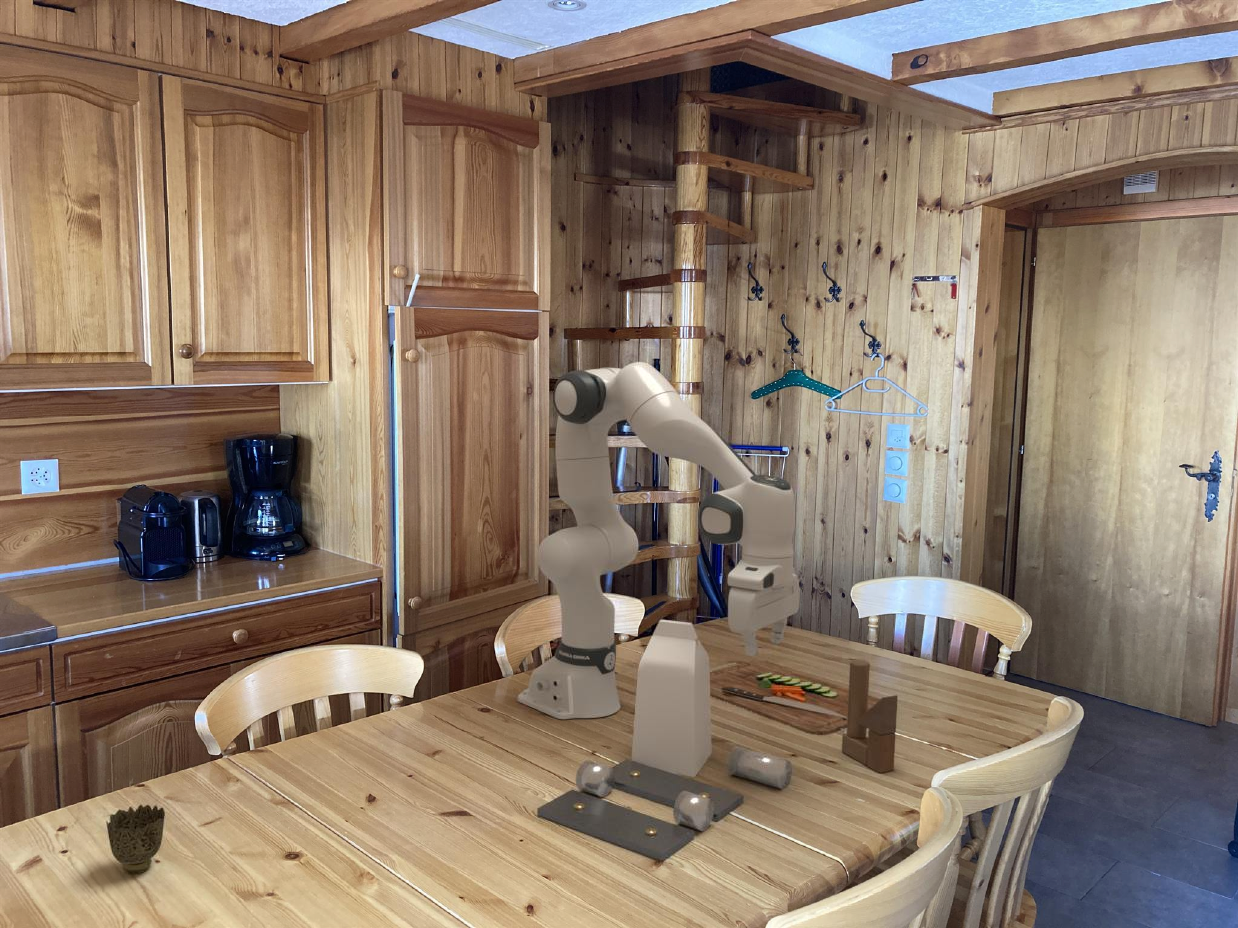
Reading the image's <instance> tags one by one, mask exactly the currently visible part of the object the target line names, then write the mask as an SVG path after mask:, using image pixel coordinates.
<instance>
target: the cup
mask: <svg viewBox="0 0 1238 928" xmlns="http://www.w3.org/2000/svg"><path fill="white" fill-rule="evenodd" d="M165 813H166V812H165V809H164V807H162V806H161V807H160V808H158V805H157V804H155V805H153V807H151V805H149V804H146V805H142V804H140V805H138V807H137V808H135V810H134V808H133V807H132V806H129V808H128V811H127V810H124V809H123V810H122V809H120V808H119V809H118V810H117V811H116V812H115V814H114V813H113V814H110V815H109V822H108V820H106V822H105V823H106V828H107V834H108V835H107V836H108V841H109V846H110V851H111V853H112V855H113V857H114V859H116V861H118V862H119V863H122V864H123V865H122V868H123V870H124V872H125V873H127V872H128V873H127V874H130V873H137V874H140V873H139V872H141V873H143V872H142V871H144V870H146V869H147V870H148V869H149V868H150V867H151V865H152V863H153V859H152V858H153V857H154V856H156V854H157V853H158V852H159V851H160V849H161V845H162V840H163V836H164V835H163V834H164V825H165V816H166V814H165ZM147 870H146V871H147ZM144 872H145V871H144Z"/></svg>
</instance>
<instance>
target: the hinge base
mask: <svg viewBox="0 0 1238 928" xmlns="http://www.w3.org/2000/svg"><path fill="white" fill-rule="evenodd" d="M631 760H632V759H624V760H623V761H620V762H619V763H617V764H615V765H614V766H612V767H611V766H608V765H606V764H601V763H599V762H594V761H592V760H588V759H587V760H584V761H583V762H582V763H581V764H580V765H579V767H578V769H577V772H576V775H575V785H576V787H577V789H578V790H580V791H578V790H575V789H571V790H568V791H566V792H565V793H562V794H561V795H559V796H558V797H556V798H554V799H552V800H551V801H549V802H547V803H545V804H543V805H541V806H539V807H537V808H536V809H537V812H536V814H537V817H540V818H543V819H545V820H549V821H551V822H553V823H554V822H555V823H556V824H559V825H562V826H564V827H568V828H570V829H573V830H576V831H578V832H581V833H584V834H587V835H589V836H592V837H594V838H598V839H600V840H602V841H605V842H607V843H611V844H613V845H616V846H619V847H621V848H625V849H627V850H630V851H632V852H635V853H637V854H640V855H643V856H645V857H648V858H651V859H654V860H656V861H659V862H662V863H663V862H664V861H665V860H667V859H668V858H670V857H671V856H673V855H674V854H675V853H676V852H678V851H679V850H680V849H683V847H685V846H686V845H688V843H690V842H692V840H694V839H695V830H698V831H701V832H705V831H706V830H707V829H709V827H710V825H711V824H712V821H714V822H718V821H720V820H722V819H723V818H724V817H725V816H726V815H729V813H731V812H732V811H733V810H735V809H736V808H738V807H739V806H740V805H742V804H743V803H744V801H745V799H744V798H745V795H744V794H741V793H737V792H735V791H731V790H728V789H725V788H722V787H719V786H715V785H712V784H708V783H705V782H703V781H699V780H695V779H692V778H689V777H685V776H684V775H680V774H674V773H670V772H667V771H663V770H660V769H657V768H654V767H650V766H647V765H644V764H641V763H637V762H634V761H631ZM613 788H614V789H615V790H619V791H623V792H625V793H629V794H632V795H635V796H638V797H641V798H643V799H646V800H649V801H653V802H656V803H658V804H662V805H664V806H668V807H670V808H673V809H672V810H673V812H672V813H673V819H674V821H675V823H676V824H674V823H672V822H669V821H666V820H663V819H661V818H657V817H655V816H651V815H648V814H645V813H643V812H640V811H636V810H634V809H630V808H628V807H625V806H622V805H620V804H617V803H614V802H611V801H607V800H604V799H602V798H605V797H607V796H608V795H609V794H610V793H611V791H612V789H613ZM581 791H583V792H581ZM584 792H585V793H584ZM587 793H589V794H590V795H589V794H587ZM592 795H595V796H592ZM596 796H597V797H596ZM598 797H601V798H598ZM677 823H678V824H680V825H683V826H686V827H688V828H686V827H683V826H680V825H677ZM690 828H691V829H690ZM693 829H695V830H693Z"/></svg>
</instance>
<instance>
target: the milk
mask: <svg viewBox="0 0 1238 928" xmlns="http://www.w3.org/2000/svg"><path fill="white" fill-rule="evenodd" d="M657 623H658V624H656V627H655V629H654V631H653V633H652V636H651V637H650V640H649V642H648V644H647V646H646V648H645V650H644V652H643V654H642V656H641V659H640V661H639V664H638V669H637V677H636V678H637V679H636V693H635V694H636V695H635V707H634V719H633V720H634V722H633V735H632V748H631V759H630V760H631V761H634V762H637V763H641V764H644V765H647V766H650V767H654V768H657V769H660V770H663V771H667V772H670V773H673V774H677V775H680V776H687V777H691V778H692V777H694V778H696V776H697V774H698V773H699V772H700V770H701V769H702V768H703V766H704V765H705V763H706V762H707V761H708V759H709V757H710V756H711V754H712V718H711V716H712V714H711V696H710V669H711V668H710V658H709V655H708V653H707V650H706V649H705V648H704V646H703V644H702V643H701V641H700V640H699V639H698V635H697V633H696V630H695V628H694V624H693V623H692V622H686V621H676V620H670V619H669V620H666V619H660V620H659V621H658V622H657Z"/></svg>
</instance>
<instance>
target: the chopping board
mask: <svg viewBox="0 0 1238 928" xmlns="http://www.w3.org/2000/svg"><path fill="white" fill-rule="evenodd" d="M736 663H737V662H731V663H729V664H724V665H721V666H718V667H717V666H716V667H714V668H710V671H712V672H710V697H711V696H712V697H711V698H713V697H715V698H714V699H716V698H717V699H716V700H719V699H720V700H719V701H721V700H722V701H721V702H724V701H725V702H724V703H727V702H728V703H727V704H729V703H730V704H729V705H732V704H733V705H732V706H734V705H736V706H735V707H737V708H740V707H741V708H740V709H742V708H744V709H743V710H745V709H746V710H745V711H748V712H750V711H752V712H751V713H753V714H756V713H757V714H756V715H758V714H759V715H758V716H761V717H764V718H766V717H767V719H769V720H771V719H772V721H774V720H775V721H774V722H777V723H779V722H780V724H782V723H783V724H782V725H785V726H787V725H789V726H788V727H790V726H791V728H793V727H794V728H793V729H795V728H796V730H798V731H802V732H803V731H804V733H806V734H809V733H810V734H809V735H814V734H817V735H816V736H827V735H831V734H835V733H836V732H838V731H841V732H843V734H846V733H847V719H848V697H849V688H848V687H844V686H841V685H838V684H835V683H831V682H828V681H826V680H822V679H819V678H816V677H814V676H813V677H812V676H810V675H806V674H804V673H801V672H797V671H794V670H791V669H788V668H785V667H781V666H779V665H777V664H773V663H770V662H767V661H761V660H750V661H745V662H743V663H738V664H737V665H734V666H731V667H727V666H728V665H732V664H736ZM752 665H753V666H752ZM722 667H727V668H723V669H720V670H716V669H719V668H722ZM740 668H742V669H740ZM713 670H716V671H713ZM732 670H733V671H732ZM734 670H735V671H734ZM729 671H731V672H729ZM723 673H724V674H723ZM880 699H881V698H878V697H876V696H872V695H869V694H868V710H869V709H870V708H871V707H872V706H874V705H875V704H876V703H877V702H878V701H879V700H880ZM826 734H827V735H826ZM843 734H842V735H843Z"/></svg>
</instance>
